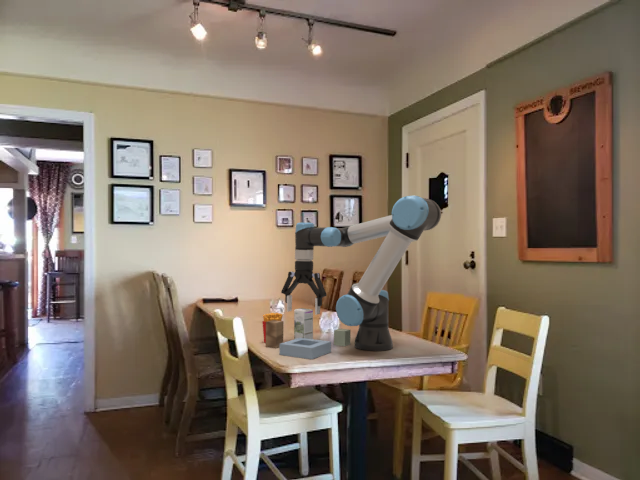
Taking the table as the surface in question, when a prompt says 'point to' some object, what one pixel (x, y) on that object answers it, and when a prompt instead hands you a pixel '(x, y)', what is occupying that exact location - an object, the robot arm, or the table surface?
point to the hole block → (305, 348)
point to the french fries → (269, 318)
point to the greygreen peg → (342, 337)
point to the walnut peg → (274, 333)
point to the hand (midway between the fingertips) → (303, 312)
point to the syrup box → (303, 323)
